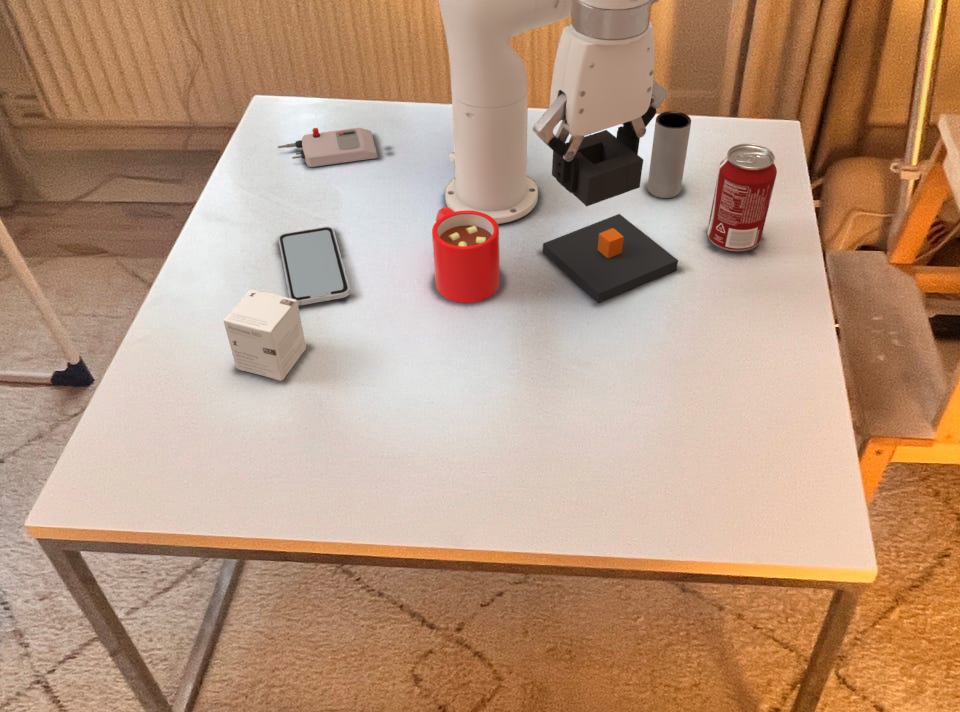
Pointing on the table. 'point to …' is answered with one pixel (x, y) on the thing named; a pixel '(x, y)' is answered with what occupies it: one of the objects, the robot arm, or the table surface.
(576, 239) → the base pad
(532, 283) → the table surface
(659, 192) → the gray hollow cylinder
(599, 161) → the black square ring block
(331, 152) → the handheld electronic tester
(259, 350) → the product carton
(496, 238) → the mug
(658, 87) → the robot arm
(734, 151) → the soda can
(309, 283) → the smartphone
